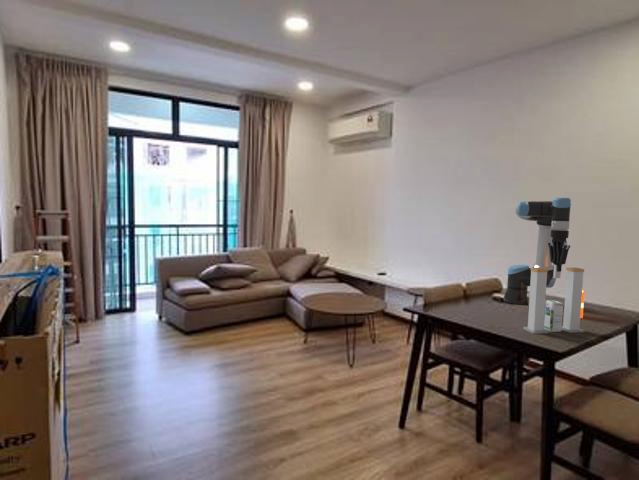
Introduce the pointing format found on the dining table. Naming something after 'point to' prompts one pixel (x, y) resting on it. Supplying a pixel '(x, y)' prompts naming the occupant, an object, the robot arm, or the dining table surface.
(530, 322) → the post
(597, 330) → the dining table surface
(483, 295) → the dining table surface
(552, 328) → the syrup box
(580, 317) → the orange juice
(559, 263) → the robot arm
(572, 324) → the post
